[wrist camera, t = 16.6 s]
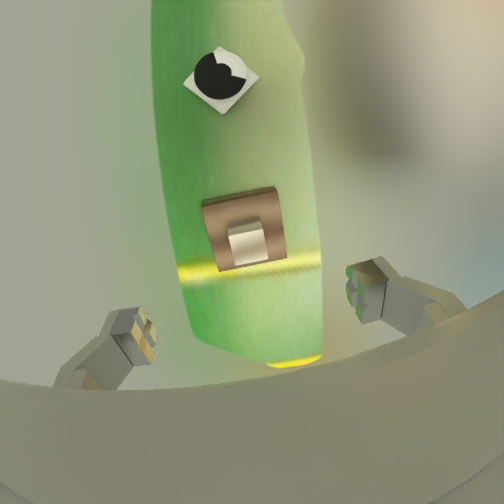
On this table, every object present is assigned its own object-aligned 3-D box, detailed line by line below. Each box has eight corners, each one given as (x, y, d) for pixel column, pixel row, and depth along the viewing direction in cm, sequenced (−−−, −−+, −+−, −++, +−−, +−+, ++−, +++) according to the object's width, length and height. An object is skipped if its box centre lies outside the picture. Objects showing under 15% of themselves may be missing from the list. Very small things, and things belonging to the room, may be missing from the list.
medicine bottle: (223, 115, 38) (222, 114, 27) (189, 88, 35) (175, 78, 25) (255, 83, 36) (266, 70, 25) (220, 56, 33) (218, 34, 22)
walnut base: (202, 201, 44) (200, 207, 41) (274, 186, 44) (277, 191, 41) (219, 263, 50) (219, 271, 47) (283, 249, 50) (287, 257, 47)
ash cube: (227, 222, 43) (228, 236, 39) (258, 216, 43) (263, 228, 39) (234, 250, 45) (235, 265, 41) (264, 244, 45) (268, 259, 41)
